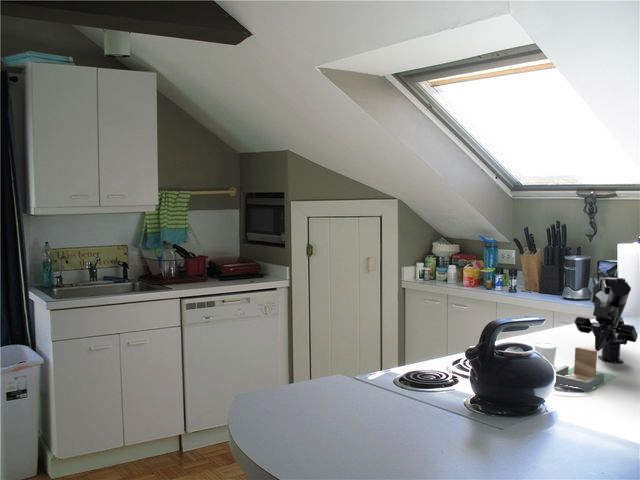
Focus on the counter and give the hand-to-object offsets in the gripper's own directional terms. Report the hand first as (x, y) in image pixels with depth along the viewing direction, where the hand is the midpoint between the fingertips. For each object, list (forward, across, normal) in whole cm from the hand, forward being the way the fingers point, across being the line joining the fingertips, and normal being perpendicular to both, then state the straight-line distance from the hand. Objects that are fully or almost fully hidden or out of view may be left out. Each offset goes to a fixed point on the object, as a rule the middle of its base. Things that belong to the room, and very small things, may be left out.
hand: (596, 350), depth 220 cm
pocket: (+15, +1, -6) cm, 17 cm away
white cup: (+9, -14, +1) cm, 17 cm away
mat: (+12, 0, -2) cm, 13 cm away
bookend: (+14, 0, -5) cm, 15 cm away
